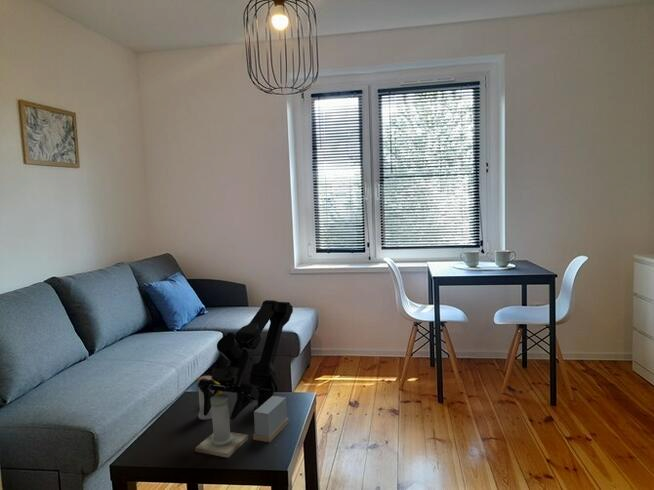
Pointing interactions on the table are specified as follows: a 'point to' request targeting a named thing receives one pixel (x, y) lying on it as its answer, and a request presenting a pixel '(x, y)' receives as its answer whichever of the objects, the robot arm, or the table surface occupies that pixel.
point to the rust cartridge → (201, 402)
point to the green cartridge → (220, 420)
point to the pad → (222, 450)
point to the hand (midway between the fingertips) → (218, 417)
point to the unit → (270, 419)
